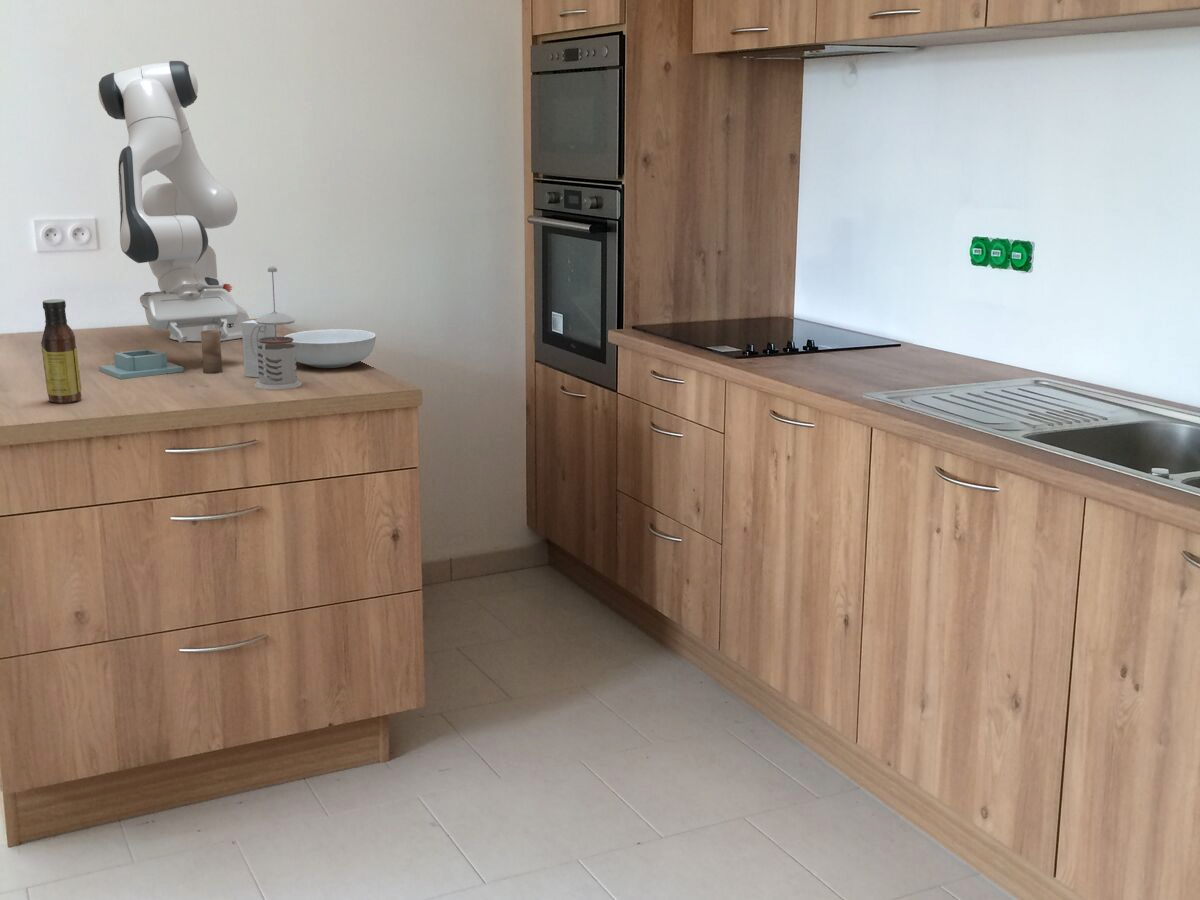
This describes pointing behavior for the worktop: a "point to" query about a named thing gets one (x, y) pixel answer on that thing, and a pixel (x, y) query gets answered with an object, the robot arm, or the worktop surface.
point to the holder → (140, 364)
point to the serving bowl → (332, 347)
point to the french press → (276, 352)
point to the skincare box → (254, 345)
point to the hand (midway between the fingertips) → (204, 338)
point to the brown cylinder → (211, 351)
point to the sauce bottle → (60, 355)
